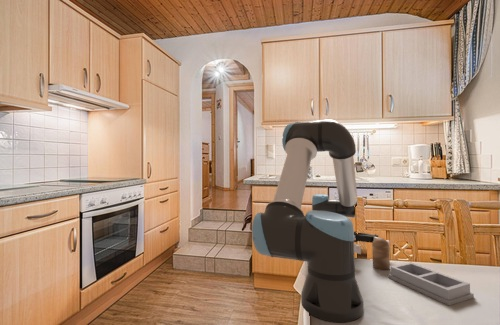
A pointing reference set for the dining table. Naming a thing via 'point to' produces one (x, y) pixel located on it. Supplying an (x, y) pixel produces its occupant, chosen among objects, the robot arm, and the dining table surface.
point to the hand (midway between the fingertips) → (375, 247)
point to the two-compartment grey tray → (431, 283)
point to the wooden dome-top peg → (380, 254)
